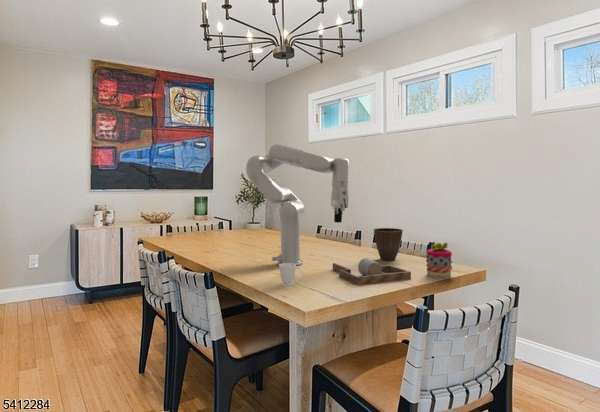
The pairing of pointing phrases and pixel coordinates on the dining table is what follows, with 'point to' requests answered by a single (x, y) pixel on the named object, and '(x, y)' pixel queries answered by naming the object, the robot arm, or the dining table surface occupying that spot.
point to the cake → (439, 261)
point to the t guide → (392, 276)
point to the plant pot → (388, 242)
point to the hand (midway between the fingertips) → (337, 222)
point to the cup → (288, 273)
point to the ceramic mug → (369, 267)
